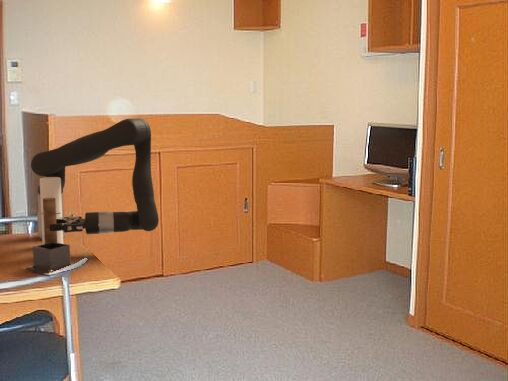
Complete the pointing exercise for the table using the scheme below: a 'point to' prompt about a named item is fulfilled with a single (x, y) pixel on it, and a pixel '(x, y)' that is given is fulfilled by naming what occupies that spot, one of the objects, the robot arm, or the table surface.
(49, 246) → the dark grey open box
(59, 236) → the cream tall block
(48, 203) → the walnut rail
